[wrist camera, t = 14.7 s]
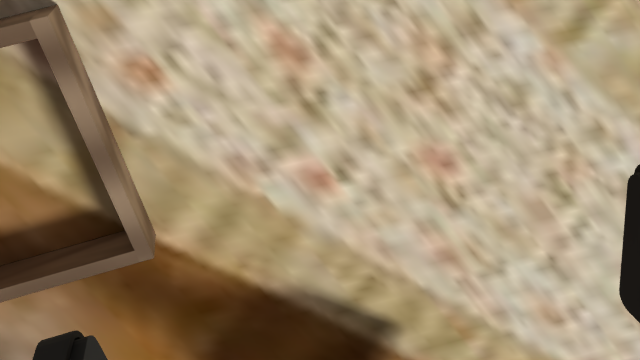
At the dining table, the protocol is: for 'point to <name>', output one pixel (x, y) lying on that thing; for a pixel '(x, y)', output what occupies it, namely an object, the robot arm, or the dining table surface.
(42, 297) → the dining table surface
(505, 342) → the dining table surface
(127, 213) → the walnut corral
